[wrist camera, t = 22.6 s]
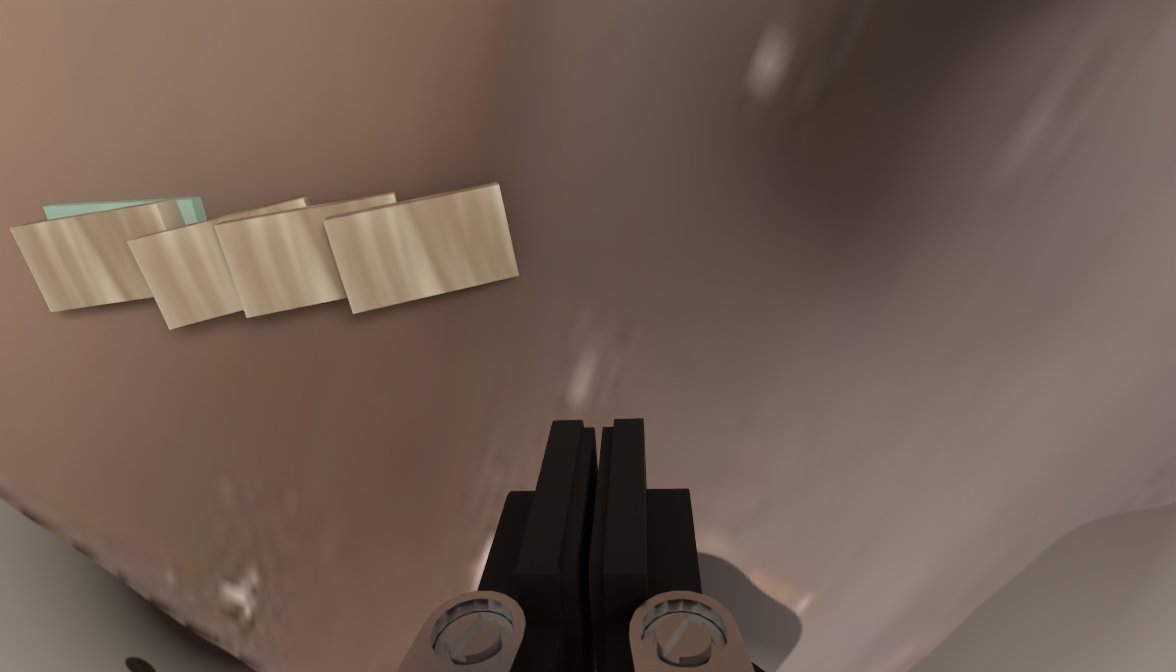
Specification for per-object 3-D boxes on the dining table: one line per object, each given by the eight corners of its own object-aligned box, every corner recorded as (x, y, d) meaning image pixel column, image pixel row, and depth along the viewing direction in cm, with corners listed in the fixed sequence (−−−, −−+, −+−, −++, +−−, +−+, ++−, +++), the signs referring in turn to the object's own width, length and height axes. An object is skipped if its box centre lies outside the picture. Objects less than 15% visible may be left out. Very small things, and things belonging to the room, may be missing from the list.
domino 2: (155, 203, 34) (9, 227, 35) (191, 291, 36) (51, 312, 37) (175, 198, 36) (34, 221, 37) (208, 283, 38) (73, 303, 39)
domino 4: (393, 193, 34) (214, 225, 32) (416, 283, 36) (246, 318, 34) (395, 190, 35) (223, 221, 34) (416, 277, 37) (254, 310, 36)
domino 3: (303, 198, 34) (126, 241, 33) (335, 285, 36) (169, 329, 35) (308, 195, 36) (139, 236, 35) (339, 279, 38) (179, 321, 36)
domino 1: (191, 199, 36) (42, 206, 36) (216, 284, 38) (74, 289, 38) (208, 194, 37) (65, 201, 38) (232, 276, 39) (95, 281, 40)
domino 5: (498, 184, 33) (322, 221, 32) (519, 275, 35) (353, 314, 34) (496, 181, 35) (327, 216, 34) (515, 269, 37) (356, 305, 35)
